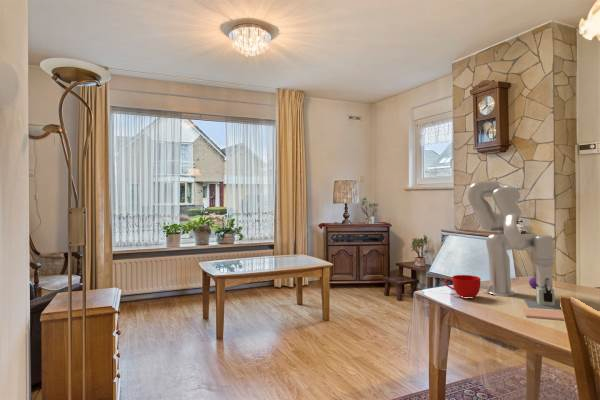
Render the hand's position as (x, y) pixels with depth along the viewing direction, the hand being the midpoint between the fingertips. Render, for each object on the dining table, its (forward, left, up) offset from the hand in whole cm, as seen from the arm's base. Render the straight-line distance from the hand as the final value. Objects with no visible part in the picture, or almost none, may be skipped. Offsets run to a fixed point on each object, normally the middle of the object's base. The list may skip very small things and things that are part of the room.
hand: (545, 298), depth 166 cm
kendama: (+3, +40, -3) cm, 41 cm away
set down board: (-4, -18, -3) cm, 18 cm away
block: (0, 0, -2) cm, 2 cm away
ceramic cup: (-35, +3, -3) cm, 35 cm away
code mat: (0, -2, -3) cm, 3 cm away
